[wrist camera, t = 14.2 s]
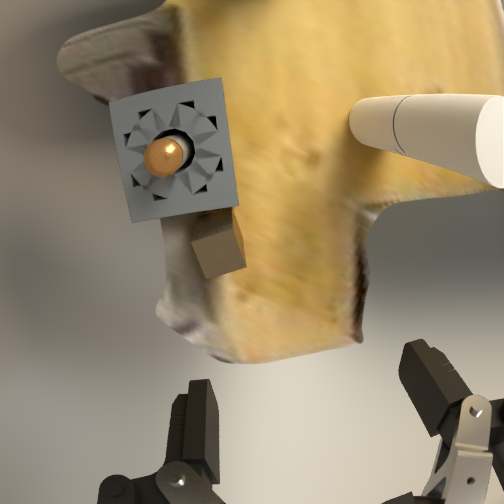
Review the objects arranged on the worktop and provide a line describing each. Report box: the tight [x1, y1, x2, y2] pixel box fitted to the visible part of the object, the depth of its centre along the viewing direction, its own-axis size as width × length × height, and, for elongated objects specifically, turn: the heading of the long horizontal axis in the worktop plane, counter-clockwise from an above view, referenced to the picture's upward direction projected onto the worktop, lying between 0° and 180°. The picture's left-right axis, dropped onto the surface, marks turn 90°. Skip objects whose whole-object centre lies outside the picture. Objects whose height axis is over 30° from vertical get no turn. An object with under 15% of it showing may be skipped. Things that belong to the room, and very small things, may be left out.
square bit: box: [191, 207, 246, 279], centre depth 39 cm, size 5×5×9 cm
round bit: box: [144, 134, 193, 177], centre depth 34 cm, size 4×4×10 cm
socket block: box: [109, 78, 239, 223], centre depth 37 cm, size 16×14×4 cm
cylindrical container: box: [349, 94, 504, 188], centre depth 27 cm, size 7×7×25 cm
